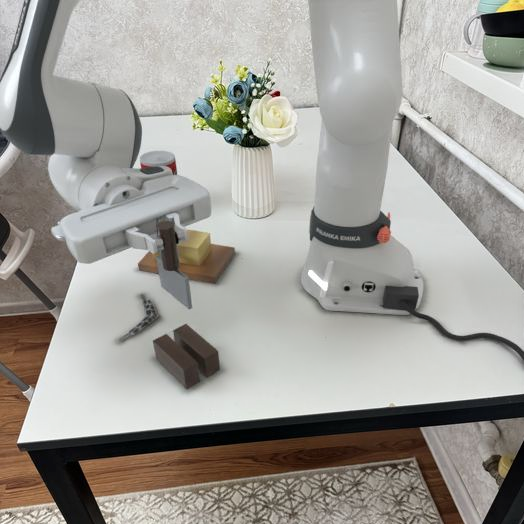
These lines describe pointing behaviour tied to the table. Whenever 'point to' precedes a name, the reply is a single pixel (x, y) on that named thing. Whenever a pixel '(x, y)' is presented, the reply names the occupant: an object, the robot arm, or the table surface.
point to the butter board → (196, 258)
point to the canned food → (159, 160)
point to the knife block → (186, 355)
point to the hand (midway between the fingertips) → (171, 242)
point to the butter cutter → (172, 265)
